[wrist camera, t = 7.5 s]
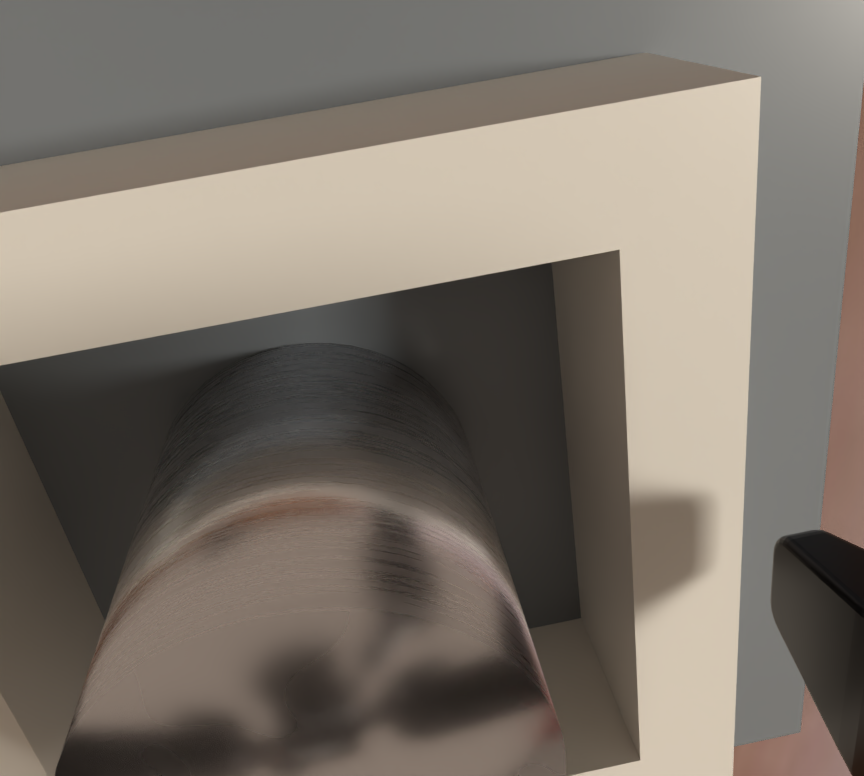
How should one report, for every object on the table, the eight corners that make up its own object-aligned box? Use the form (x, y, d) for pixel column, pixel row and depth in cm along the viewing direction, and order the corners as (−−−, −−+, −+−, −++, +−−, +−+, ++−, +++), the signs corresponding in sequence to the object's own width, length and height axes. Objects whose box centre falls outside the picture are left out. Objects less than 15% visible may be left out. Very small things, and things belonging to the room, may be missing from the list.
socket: (848, -257, 8) (1142, -389, 5) (776, 696, 15) (891, 873, 12) (-573, -29, 8) (-1133, -38, 5) (9, 861, 14) (-72, 1091, 11)
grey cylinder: (448, 314, 10) (546, 561, 6) (487, 570, 11) (581, 896, 7) (116, 377, 9) (-40, 679, 5) (209, 627, 11) (148, 992, 7)
